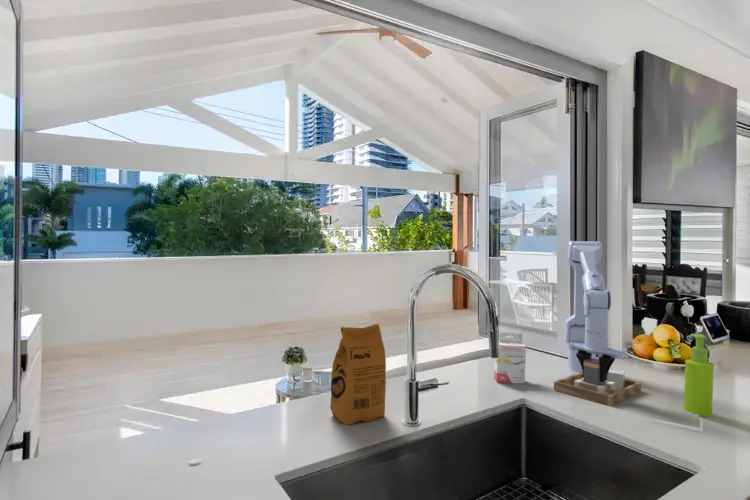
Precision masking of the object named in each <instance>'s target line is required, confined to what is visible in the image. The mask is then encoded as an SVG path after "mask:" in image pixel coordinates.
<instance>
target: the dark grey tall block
mask: <svg viewBox="0 0 750 500" xmlns="http://www.w3.org/2000/svg"><path fill="white" fill-rule="evenodd" d="M584 382H587V383H591V384H595V385H599V386H601V385H603V384H604V382H600V363H599V358H596V359H594V358H588V359H586V360H584Z"/></svg>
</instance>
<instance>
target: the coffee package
mask: <svg viewBox="0 0 750 500" xmlns="http://www.w3.org/2000/svg"><path fill="white" fill-rule="evenodd" d="M340 333H341V336H342V337H341V338H340V342H339V345H338V348H337V351H336V353H335V355H334V358H333V361H332V367H331V368H332V369H331V377H330V378H331V381H330V382H331V384H330V405H329V408H330V411H331V415H332V416H333V417H335V418H336V419H337V420H338V422H340V423H341V424H343V425H346V426H349V425H353V424H356V423H357V422H372V421H375V420H377V419H378V418H382V417H384V416H385V415H386V411H385V410H386V389H387V387H386V385H387V382H386V381H387V380H386V379H387V372H386V369H387V364H386V363H387V362H386V361H387V359H386V350H385V347H384V346H385V344H384V342H383V338H382V336H383V335H382V332H381V327H380V324H379V323H374V324H370V325H368V326H365V327H351V326H341V327H340Z"/></svg>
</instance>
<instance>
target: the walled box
mask: <svg viewBox="0 0 750 500" xmlns="http://www.w3.org/2000/svg"><path fill="white" fill-rule="evenodd" d="M553 391H555V392H559V393H562V394H566V395H570V396H574V397H576V398H579V399H585V400H589V401H592V402H594V403H599V404H603V405H607V406H611V407H612V406H614V405H616V404H619V403H621V402H622V401H625V400H627V399H628V398H630V397H633V396H634V395H637V394H639V393H641V392H642V382H640V381H636V380H631V379H627V378H624V388H623V389H621V390H619V391H615V382H610V381H607V378H606V381H605V382H604V384H603V385H601V386H599V385H595V384H591V383H587V382H584V375H583V372H580V373H578V372H576V373H574V374H573V375H569V376H567V377H563V378H561V379H560V378H559V379H557V380H555V381H553Z"/></svg>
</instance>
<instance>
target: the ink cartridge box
mask: <svg viewBox="0 0 750 500" xmlns="http://www.w3.org/2000/svg"><path fill="white" fill-rule="evenodd" d="M499 332H500V358H498V359H495V358H494V371H493V373H494V375H493V376H494V380H495V381H496V383H502V382H506V383H505V384H518V383H525V382H526V381H525V380H526V357H527V355H526V354H527V353H526V352H527V350H526V349H527V348H526V344H524V343H523V333H522V332H503V331H502V332H501V331H499ZM509 336H510V337H511V338H510V337H509ZM512 337H513V338H512Z"/></svg>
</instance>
